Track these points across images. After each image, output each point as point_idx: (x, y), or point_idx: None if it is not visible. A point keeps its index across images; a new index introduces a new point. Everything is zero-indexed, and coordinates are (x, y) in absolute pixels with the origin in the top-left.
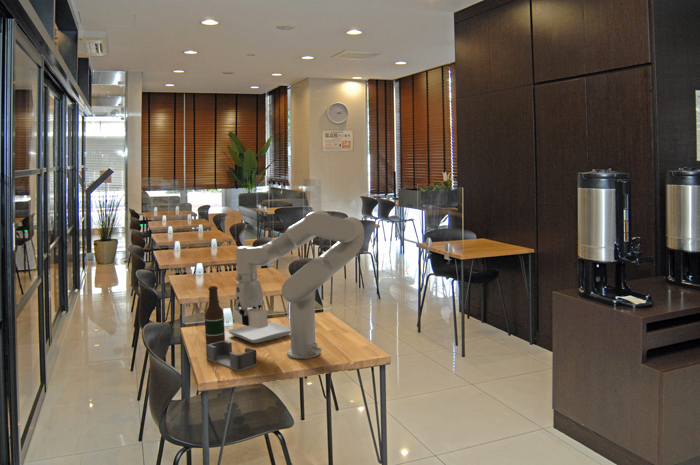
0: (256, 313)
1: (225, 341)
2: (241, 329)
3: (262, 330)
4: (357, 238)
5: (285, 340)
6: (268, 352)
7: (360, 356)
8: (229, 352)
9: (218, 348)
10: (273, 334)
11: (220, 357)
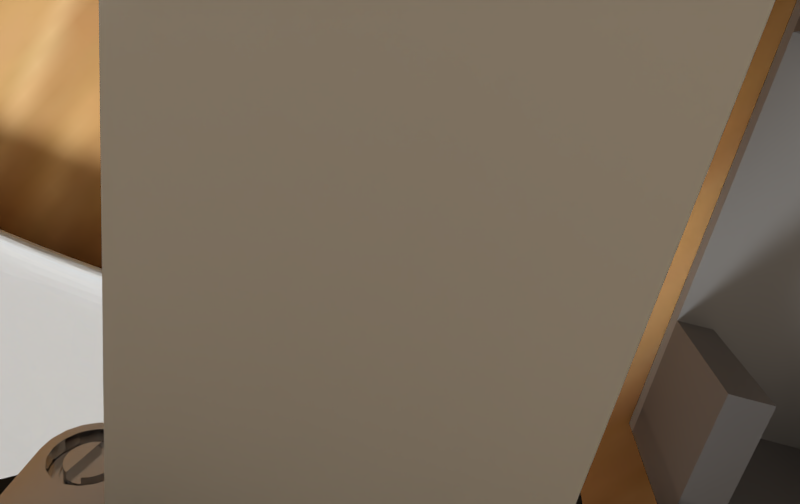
0: (720, 84)
1: (713, 482)
2: None
3: (3, 475)
4: None
5: (38, 156)
6: None
7: None
8: (721, 345)
9: (763, 479)
10: (70, 259)
11: (786, 381)
